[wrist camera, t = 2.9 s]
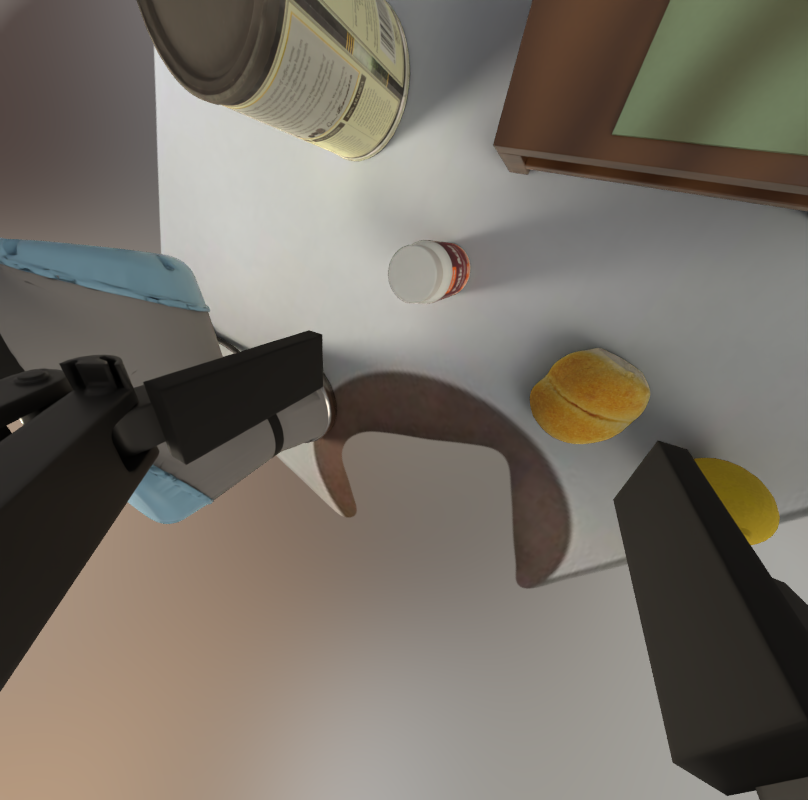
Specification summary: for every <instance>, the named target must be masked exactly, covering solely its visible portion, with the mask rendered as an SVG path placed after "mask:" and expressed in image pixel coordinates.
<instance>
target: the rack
mask: <svg viewBox="0 0 808 800" xmlns="http://www.w3.org/2000/svg"><path fill="white" fill-rule="evenodd" d="M493 146H494V147H495V149H496V150H497V152H498V154H499V155H500V157H501V158H502V160H503V162H504V163H505V165H506V166H507V168H508V170H509V171H510V172H513V173H519V174H526V175H528V174H529V171H530V169H531V170H537V171H544V172H550V173H557V174H564V175H570V176H577V177H584V178H590V179H597V180H603V181H610V182H617V183H623V184H630V185H636V186H643V187H650V188H656V189H663V190H670V191H676V192H683V193H689V194H696V195H703V196H709V197H716V198H722V199H729V200H736V201H742V202H749V203H755V204H762V205H769V206H775V207H782V208H789V209H795V210H802V211H808V0H532V4H531V8H530V11H529V15H528V19H527V22H526V26H525V30H524V33H523V37H522V41H521V44H520V48H519V52H518V55H517V59H516V63H515V66H514V70H513V74H512V77H511V81H510V85H509V88H508V92H507V96H506V99H505V103H504V107H503V110H502V114H501V118H500V122H499V125H498V129H497V133H496V136H495V140H494V144H493Z"/></svg>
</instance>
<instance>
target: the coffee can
mask: <svg viewBox="0 0 808 800" xmlns="http://www.w3.org/2000/svg"><path fill="white" fill-rule="evenodd" d="M137 3H138V6H139V9H140V12H141V15H142V17H143V20H144V23H145V25H146V28H147V31H148V33H149V35H150V37H151V40H152V41H153V44H154V46H155V48H156V50H157V52H158V53H159V55H160V57H161V59H162V60H163V62H164V63H165V65H166V66H167V68H168V70H169V71H170V72H171V74H172V75H173V76H174V77H175V79H176V80H177V81H178V82H179V83H180V84H181V85H182V86H183V87H184V88H185V89H186V90H187V91H188V92H190V93H191V94H193V95H194V96H196V97H198V98H199V99H202V100H204V101H207V102H210V103H213V104H217V105H223V106H225V107H227V108H230V109H232V110H234V111H237V112H239V113H241V114H244V115H246V116H249V117H251V118H253V119H255V120H258V121H260V122H262V123H265V124H267V125H270V126H272V127H274V128H277V129H279V130H281V131H284V132H286V133H288V134H291V135H293V136H295V137H297V138H300V139H302V140H305V141H307V142H309V143H312V144H314V145H317V146H319V147H321V148H324V149H326V150H328V151H331V152H333V153H335V154H337V155H339V156H340V157H342V158H344V159H347V160H351V161H362V160H365V159H368V158H371V157H373V156H374V155H375V154H377V153H378V152H379V151H381V150H382V149H383V148H384V147H385V145H386V144H387V143H388V142H389V140H390V139H391V138H392V136H393V135H394V133H395V131H396V128H397V126H398V124H399V122H400V120H401V117H402V114H403V112H404V108H405V104H406V100H407V95H408V88H409V77H410V69H409V54H408V47H407V42H406V38H405V35H404V31H403V28H402V26H401V23H400V21H399V19H398V17H397V15H396V14H395V11H394V10H393V9H392V7H391V6H390V5H389V4H388V3H387V2H386V1H385V0H137Z"/></svg>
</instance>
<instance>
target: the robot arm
mask: <svg viewBox="0 0 808 800" xmlns="http://www.w3.org/2000/svg"><path fill="white" fill-rule="evenodd" d="M208 312H210V309H209V307H208V306H207V305H206V304H205V302H204V299H203V297H202V294H201V291H200V289H199V286H198V284H197V281H196V278H195V276H194V274H193V272H192V271H191V269H190V268H189V267H188V266H187V265H186V264H185V263H183V262H182V261H180V260H179V259H177V258H174V257H172V256H168V255H163V254H157V253H149V252H142V251H134V250H125V249H117V248H108V247H98V246H89V245H79V244H69V243H58V242H47V241H35V240H18V239H3V238H0V691H1V690H2V688H3V687H4V685H5V684H6V682H7V681H8V679H9V678H10V676H11V675H12V673H13V672H14V670H15V669H16V667H17V666H18V665H19V663H20V662H21V660H22V659H23V657H24V656H25V654H26V653H27V651H28V650H29V648H30V647H31V645H32V644H33V642H34V641H35V639H36V638H37V636H38V635H39V633H40V631H41V630H42V629H43V627H44V626H45V624H46V623H47V621H48V620H49V618H50V617H51V615H52V614H53V612H54V611H55V609H56V608H57V606H58V605H59V603H60V602H61V600H62V599H63V597H64V596H65V594H66V593H67V591H68V589H69V588H70V587H71V585H72V584H73V582H74V581H75V579H76V578H77V576H78V575H79V573H80V572H81V570H82V569H83V567H84V566H85V565H86V563H87V561H88V560H89V559H90V557H91V556H92V554H93V553H94V551H95V550H96V548H97V547H98V545H99V544H100V542H101V541H102V539H103V537H104V536H105V535H106V533H107V532H108V530H109V529H110V527H111V526H112V524H113V523H114V521H115V520H116V518H117V517H118V515H119V514H120V512H121V510H122V509H123V508H124V506H125V505H126V503H127V502H128V503H130V504H131V505H132V506H133V507H135V508H136V509H137V510H139V511H140V512H141V513H143V514H144V515H146V516H147V517H149V518H150V519H152V520H154V521H156V522H159V523H163V524H171V523H176V522H179V521H181V520H183V519H185V518H186V517H188V516H190V515H191V514H192V513H194V512H196V511H198V510H199V509H200V508H202V507H204V506H205V505H207V504H211V503H212V502H213V501H214V500H215V499H216V498H218V497H219V496H220V495H222V494H223V493H225V492H226V491H227V490H229V489H230V488H231V487H233V486H234V485H236V484H237V483H238V482H240V481H241V480H242V479H244V478H245V477H246V476H248V475H249V474H251V473H252V472H253V471H255V470H256V469H257V468H259V467H260V466H261V465H263V464H264V463H266V462H267V461H268V460H270V459H271V458H273V457H274V456H275V455H277V454H278V453H280V452H281V451H283V450H286V449H289V448H292V447H295V446H297V445H300V444H302V443H309V442H313V441H316V440H318V439H320V438H321V437H322V436H324V435H325V434H326V433H327V432H329V431H330V430H331V428H332V427H333V425H334V423H335V419H336V401H335V397H334V394H333V391H332V388H331V386H330V384H329V382H328V380H327V378H326V377H325V375H324V374H323V351H322V334H319V333H316V332H312V331H306V332H302V333H299V334H296V335H293V336H290V337H286V338H283V339H280V340H277V341H273V342H270V343H267V344H264V345H261V346H257V347H254V348H251V349H248V350H244V351H241V352H240V351H239V350H238V349H236V348H235V347H234V346H233V345H231V344H230V343H228V342H226V341H224V340H222V339H220V338H218V337H216V335H215V332H214V329H213V326H212V323H211V319H210V316H209V313H208ZM218 343H219V344H221V345H223V346H225V347H226V348H228V349H229V350H230V351H232V352H233V353H234V354H232V355H228V356H225V357H223V356H222V353H221V350H220V347H219V344H218ZM18 419H20V420H21V422H22V423H23V426H22V427H21V428H19V429H18V430H16V431H15V432H13V433H11V431H10V430H9V429H8V427H7V426H6V425H8V424H10V423H12V422H14V421H16V420H18ZM613 500H614V505H615V509H616V513H617V518H618V522H619V527H620V531H621V536H622V540H623V544H624V549H625V553H626V558H627V562H628V566H629V571H630V575H631V580H632V584H633V589H634V593H635V598H636V602H637V606H638V610H639V615H640V620H641V624H642V628H643V633H644V637H645V642H646V646H647V651H648V655H649V659H650V664H651V668H652V673H653V677H654V682H655V686H656V690H657V694H658V699H659V703H660V708H661V713H662V716H663V721H664V726H665V730H666V734H667V739H668V744H669V748H670V752H671V757H672V761H673V763H675V764H676V765H678V766H680V767H681V768H683V769H684V770H686V771H688V772H689V773H691V774H692V775H694V776H696V777H697V778H699V779H701V780H702V781H704V782H706V783H707V784H709V785H710V786H712V787H714V788H715V789H717V790H719V791H720V792H722V793H724V794H725V795H727V796H729V795H734V794H740V793H745V792H749V791H755V790H756V791H757V794H758V796H759V799H760V800H808V605H807V604H806V603H805V602H804V601H803V600H802V599H801V598H800V597H799V596H798V595H797V594H796V593H795V592H794V591H793V590H792V589H791V588H790V587H789V586H788V585H787V584H786V583H784V582H781V581H779V580H776V579H774V578H772V577H771V576H770V574H769V572H768V571H767V570H766V568H765V566H764V565H763V563H762V562H761V560H760V559H759V557H758V556H757V554H756V553H755V551H754V550H753V548H752V547H751V545H750V544H749V542H748V541H747V539H746V538H745V536H744V535H743V533H742V532H741V530H740V529H739V527H738V526H737V524H736V523H735V521H734V519H733V518H732V516H731V515H730V513H729V512H728V510H727V509H726V507H725V506H724V504H723V503H722V501H721V500H720V498H719V497H718V495H717V494H716V492H715V491H714V489H713V488H712V486H711V485H710V483H709V482H708V480H707V479H706V477H705V476H704V474H703V473H702V471H701V470H700V468H699V467H698V465H697V463H696V462H695V460H694V459H693V457H692V456H691V454H690V453H689V451H688V450H687V449H683V448H680V447H677V446H674V445H671V444H668V443H664V442H661V441H657V442H656V444H655V445H654V446H653V448H652V449H651V450H650V452H649V453H648V454H647V456H646V457H645V458H644V460H643V461H642V462H641V464H640V465H639V466H638V468H637V469H636V470H635V472H634V473H633V474H632V476H631V477H630V478H629V480H628V481H627V482H626V483H625V485H624V486H623V487H622V489H621V490H620V491H619V493H618V494H617V495H616V497H615V498H614V499H613Z"/></svg>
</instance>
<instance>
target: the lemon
mask: <svg viewBox="0 0 808 800" xmlns="http://www.w3.org/2000/svg"><path fill="white" fill-rule="evenodd" d="M694 460H695V462H696V463H697V465H698V467H699V468H700V470H701V471H702V473H703V474H704V476H705V477H706V479H707V480H708V482H709V483H710V485H711V486H712V488H713V489H714V491H715V492H716V494H717V495H718V497H719V498H720V500H721V501H722V503H723V504H724V506H725V507H726V509H727V510H728V512H729V513H730V515H731V516H732V518H733V519H734V521H735V523H736V524H737V526H738V527H739V529H740V530H741V532H742V533H743V535H744V536H745V538H746V539H747V541H748V542H749V544H750V545H754V544H758V543H761V542H764V541H766V540H767V539H768V538H770V537H771V536H773V534H774V533H775V532H776V530H777V528H778V525H779V518H780V516H779V512H778V508H777V505H776V502H775V500H774V497H773V496H772V494H771V493H770V491H769V490H768V489H767V488H766V486H765V485H764V484H763V483H762V482H761V481H760V480H759V479H758V478H757V477H756V476H754V475H753V474H751V473H750V472H749V471H747V470H746V469H744V468H742V467H741V466H738V465H736V464H733V463H731V462H728V461H725V460H720V459H716V458H696V459H694Z"/></svg>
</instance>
